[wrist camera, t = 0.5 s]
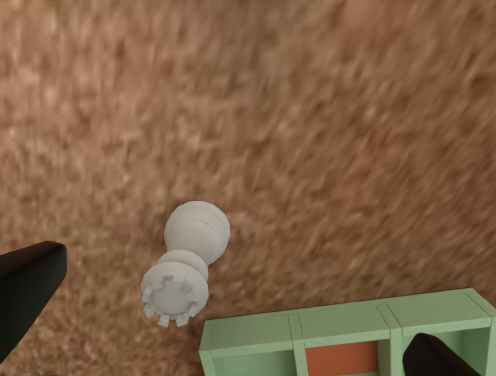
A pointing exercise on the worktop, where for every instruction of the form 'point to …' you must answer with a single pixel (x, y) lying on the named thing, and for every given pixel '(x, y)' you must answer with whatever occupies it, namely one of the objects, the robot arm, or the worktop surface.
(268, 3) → the worktop surface
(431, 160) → the worktop surface
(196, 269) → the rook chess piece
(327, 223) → the worktop surface
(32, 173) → the worktop surface
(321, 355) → the grid
